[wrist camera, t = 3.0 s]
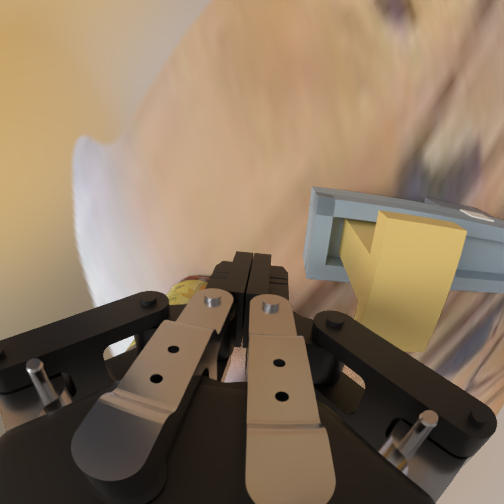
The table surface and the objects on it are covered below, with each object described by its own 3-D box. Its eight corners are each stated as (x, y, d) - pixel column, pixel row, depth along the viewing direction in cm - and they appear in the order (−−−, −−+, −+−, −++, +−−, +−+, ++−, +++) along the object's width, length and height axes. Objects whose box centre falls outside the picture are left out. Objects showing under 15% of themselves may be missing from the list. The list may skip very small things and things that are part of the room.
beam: (300, 242, 24) (311, 317, 15) (308, 178, 22) (328, 214, 13) (524, 268, 23) (580, 317, 13) (536, 223, 21) (600, 263, 11)
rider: (332, 280, 20) (352, 351, 13) (349, 184, 17) (387, 217, 11) (387, 285, 20) (424, 351, 13) (408, 194, 17) (467, 231, 10)
